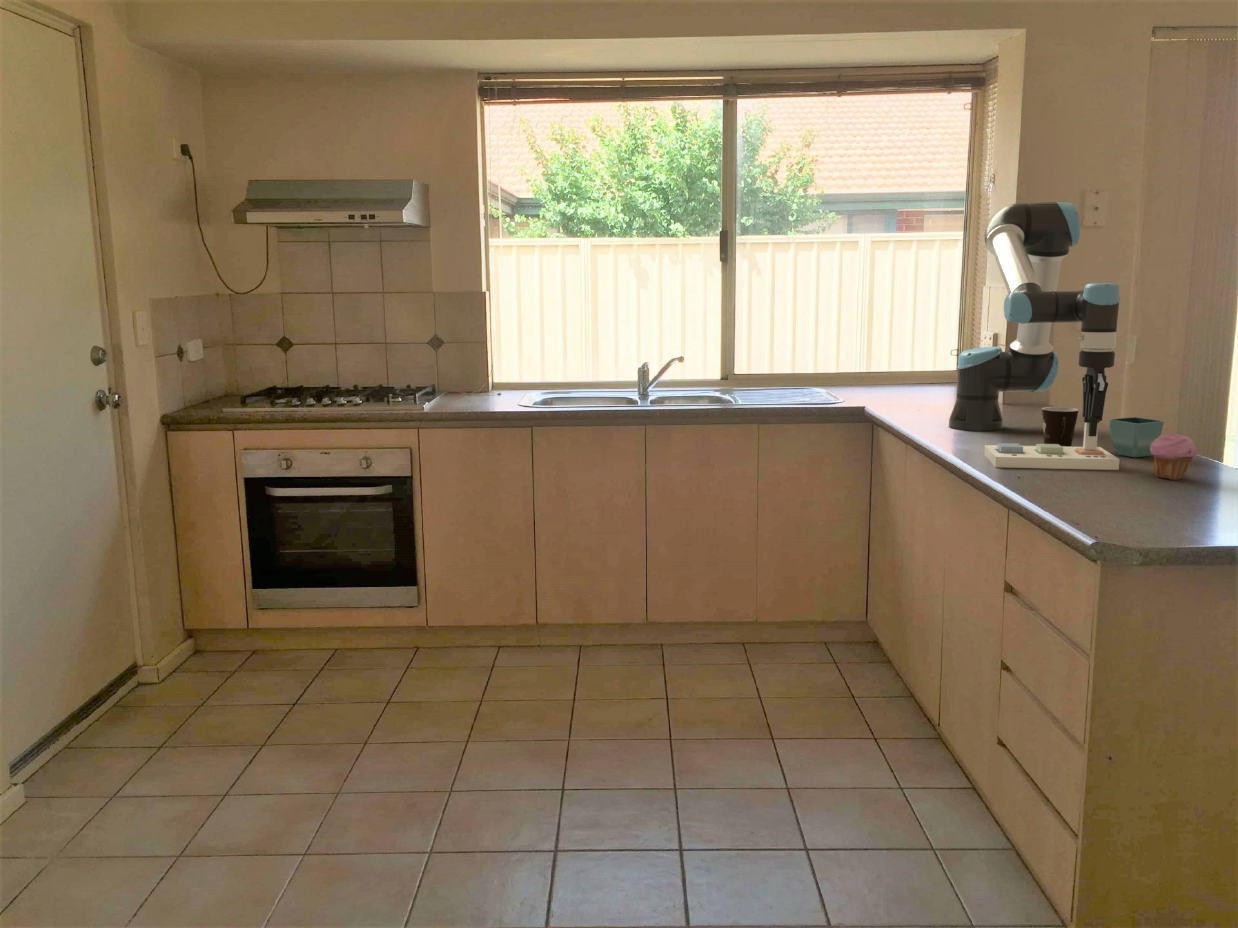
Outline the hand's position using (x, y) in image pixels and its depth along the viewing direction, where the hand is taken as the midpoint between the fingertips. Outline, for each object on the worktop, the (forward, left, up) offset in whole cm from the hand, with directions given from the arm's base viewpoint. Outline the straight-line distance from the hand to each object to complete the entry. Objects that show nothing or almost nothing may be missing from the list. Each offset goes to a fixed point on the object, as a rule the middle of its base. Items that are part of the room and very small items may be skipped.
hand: (1089, 449), depth 234 cm
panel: (0, -9, -3) cm, 10 cm away
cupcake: (+16, +13, -4) cm, 21 cm away
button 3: (0, 0, -3) cm, 3 cm away
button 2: (0, -9, -2) cm, 9 cm away
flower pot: (-11, +13, -4) cm, 17 cm away
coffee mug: (-20, -3, -4) cm, 21 cm away
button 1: (0, -18, -2) cm, 18 cm away
